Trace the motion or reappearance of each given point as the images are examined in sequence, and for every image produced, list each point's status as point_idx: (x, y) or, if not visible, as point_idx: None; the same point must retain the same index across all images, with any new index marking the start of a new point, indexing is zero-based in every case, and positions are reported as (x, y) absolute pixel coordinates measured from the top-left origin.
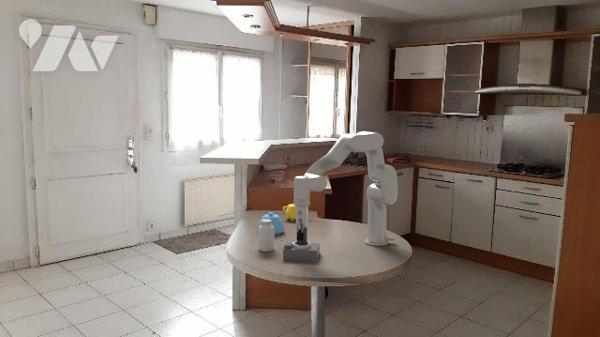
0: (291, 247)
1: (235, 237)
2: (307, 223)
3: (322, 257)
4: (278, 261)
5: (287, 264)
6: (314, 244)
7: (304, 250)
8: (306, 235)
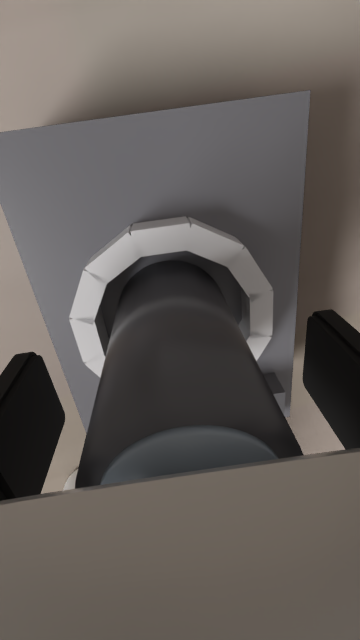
0: None
1: None
2: (235, 539)
3: (141, 73)
4: (300, 377)
5: (352, 316)
6: (61, 193)
7: (299, 249)
8: (200, 320)
